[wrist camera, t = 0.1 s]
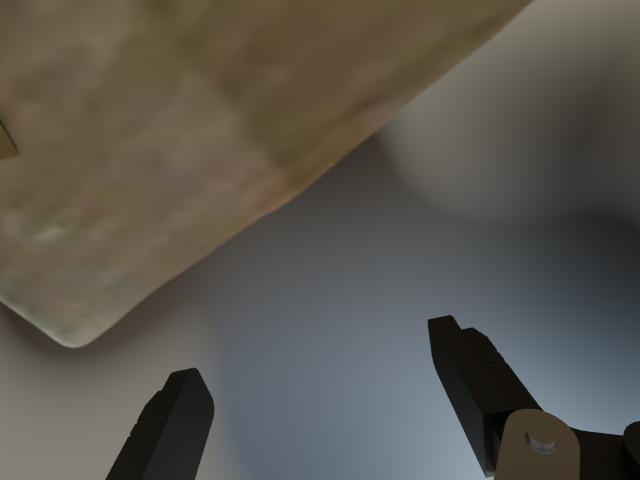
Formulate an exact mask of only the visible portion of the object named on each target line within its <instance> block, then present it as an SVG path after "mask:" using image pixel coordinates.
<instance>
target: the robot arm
mask: <svg viewBox="0 0 640 480" xmlns="http://www.w3.org/2000/svg"><path fill="white" fill-rule="evenodd" d="M428 330H429V338H430V346H431V354H432V359H433V363H434V366H435V369H436V371H437V374H438V376H439V378H440V380H441V383H442V385H443V387H444V389H445V391H446V393H447V396H448V398H449V400H450V402H451V404H452V406H453V408H454V410H455V413H456V415H457V417H458V419H459V421H460V423H461V425H462V428H463V429H464V432H465V434H466V436H467V438H468V440H469V443H470V445H471V447H472V449H473V451H474V453H475V455H476V457H477V460H478V462H479V464H480V466H481V468H482V470H483V472H484V475H485V477H486V478H487V477H492V476H494V480H640V421H638V422H634V423H632V424H630V425H629V426H627V427H626V429H625V430H624V435H623V436H622V435H614V434H605V433H596V432H588V431H582V430H578V429H574V428H572V427H569V426H567V424H565V423H564V422H563V421H562V420H560V419H559V418H557V417H556V416H554V415H552V414H550V413H547V412H545V411H544V410H542V408H541V407H540V406H539V405H538V404H537V402H536V401H535V400H534V398H533V397H532V396H531V395H530V393H529V392H528V390H527V389H526V388H525V386H524V385H523V384H522V382H521V381H520V380H519V378H518V377H517V376H516V374H515V373H514V372H513V370H512V369H511V368H510V366H509V365H508V364H507V363H506V362H505V360H504V358H503V357H502V356H501V354H500V353H499V352H497V349H496V348H495V346H494V345H493V344H492V342H491V341H490V340H489V338H488V337H487V336H485V335H484V334H482V333H481V332H479V331H477V330H476V329H474V328H473V327H472V328H467V329H462V330H461V328H460V327H459V325H458V324H457V322H456V321H455V319H454V318H453V317H452V316H451V315H448V316H443V317H438V318H434V319H428ZM213 417H214V402H213V399H212V396H211V394H210V393H209V390H208V388H207V387H206V384H205V383H204V381H203V379H202V377H201V375H200V373H199V371H198V370H197V369H196V368H190V369H186V370H180V371H176V372H173V373H171V374H170V376H169V377H168V380H167V381H166V383H165V385H164V387H163V389H162V390H161V391H158V392H157V393H156V394H155V395H154V396H153V397H152V398H151V400H150V401H149V402H148V403H147V404H146V405H145V407H144V409H143V411H142V412H141V414H140V416H139V418H138V420H137V424H135V425H134V427H133V429H132V431H131V433H130V437H128V438H127V440H126V442H125V444H124V446H123V448H122V450H121V452H120V453H119V455H118V457H117V459H116V461H115V463H114V465H113V466H112V468H111V470H110V472H109V474H108V476H107V477H106V479H105V480H195V477H196V474H197V470H198V467H199V464H200V460H201V457H202V454H203V451H204V447H205V444H206V441H207V437H208V434H209V431H210V428H211V424H212V421H213Z"/></svg>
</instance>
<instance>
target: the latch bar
mask: <svg viewBox="0 0 640 480" xmlns="http://www.w3.org/2000/svg"><path fill="white" fill-rule="evenodd" d="M17 155H19V154H18V152H17V150H16V149H15V147H14V145H13V144H12V142H11V140H10V138H9V137H8V135H7V133H6V132H5V130H4V128H3V127H2V125H1V123H0V160H2V159H6V158H10V157H13V156H17Z"/></svg>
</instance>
